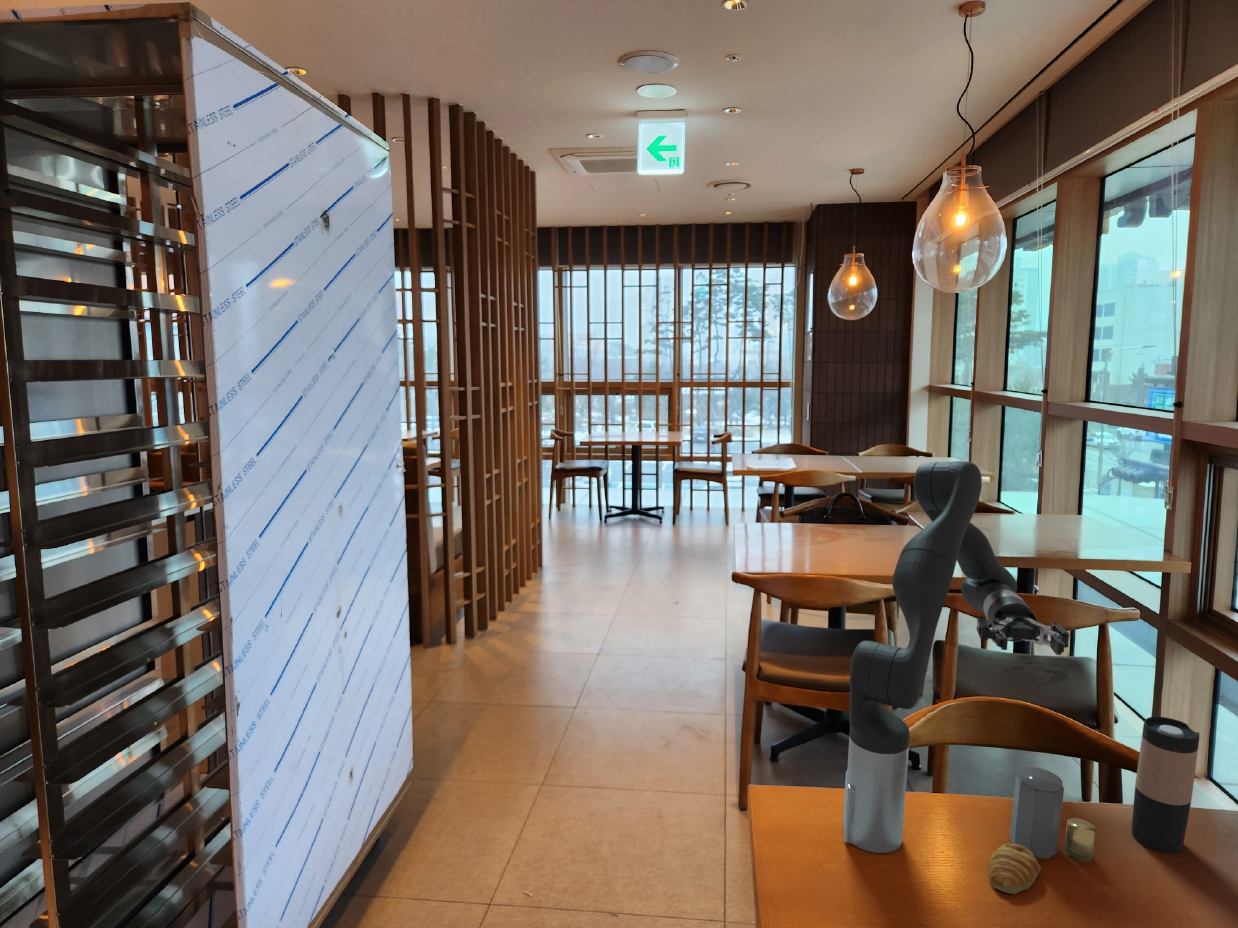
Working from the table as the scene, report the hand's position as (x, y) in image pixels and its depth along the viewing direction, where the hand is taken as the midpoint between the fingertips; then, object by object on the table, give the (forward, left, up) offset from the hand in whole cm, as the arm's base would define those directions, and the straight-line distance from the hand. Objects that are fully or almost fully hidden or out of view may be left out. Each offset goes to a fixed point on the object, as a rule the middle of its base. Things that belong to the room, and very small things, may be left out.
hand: (1032, 647), depth 135 cm
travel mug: (+20, -4, -30) cm, 37 cm away
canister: (0, -10, -30) cm, 32 cm away
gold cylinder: (+6, -11, -30) cm, 33 cm away
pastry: (-5, -19, -30) cm, 37 cm away
